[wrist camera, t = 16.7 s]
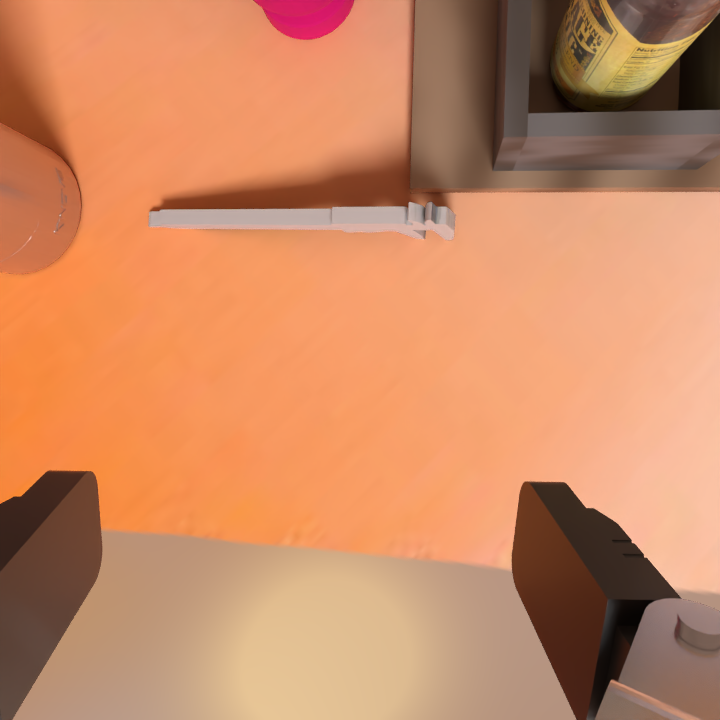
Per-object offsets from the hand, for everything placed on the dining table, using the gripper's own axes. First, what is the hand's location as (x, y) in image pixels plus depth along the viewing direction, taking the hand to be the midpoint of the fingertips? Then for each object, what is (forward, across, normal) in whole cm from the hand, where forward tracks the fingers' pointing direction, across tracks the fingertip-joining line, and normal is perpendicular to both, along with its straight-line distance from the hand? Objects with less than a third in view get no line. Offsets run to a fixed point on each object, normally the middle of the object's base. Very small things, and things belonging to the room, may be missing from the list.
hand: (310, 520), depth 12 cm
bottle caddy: (+30, -16, -13) cm, 37 cm away
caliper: (+31, +2, -4) cm, 32 cm away
